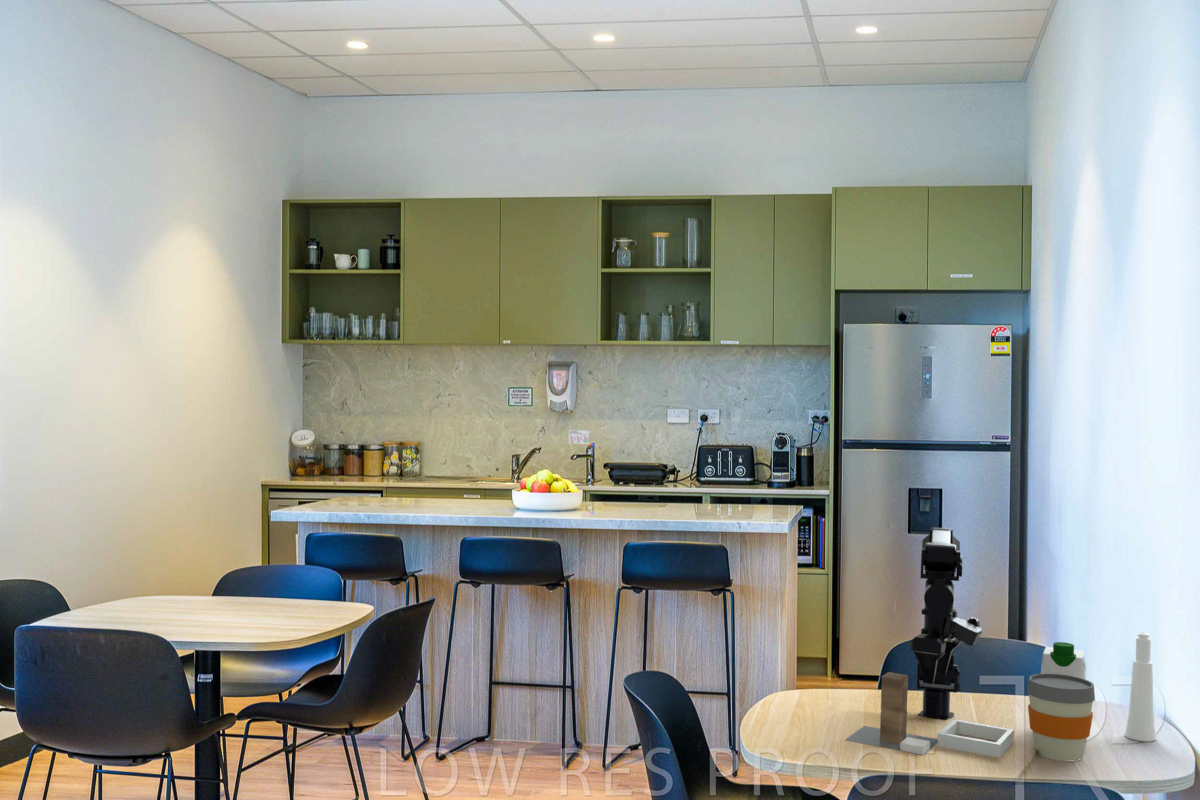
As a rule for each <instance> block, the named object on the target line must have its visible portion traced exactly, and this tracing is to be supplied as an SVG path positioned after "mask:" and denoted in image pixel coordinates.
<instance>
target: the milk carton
mask: <svg viewBox="0 0 1200 800" xmlns="http://www.w3.org/2000/svg"><path fill="white" fill-rule="evenodd" d="M1052 644H1053V647H1050V646H1045V648H1044V649H1043V651H1042V652H1043V653H1042V658H1041V663H1040V665H1041V668H1040V669H1041V670H1040V674H1061V675H1068V676H1074V677H1078V678H1082V679H1085V680H1087V678H1086V677H1087V676H1086V675H1087V674H1086V671H1087V664H1086V663H1087V662H1086V657H1085V650H1078V649H1077V650H1076V649H1075V645H1074V644H1073V643H1069V642H1060V641H1058V642H1055V641H1054V643H1052Z"/></svg>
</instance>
